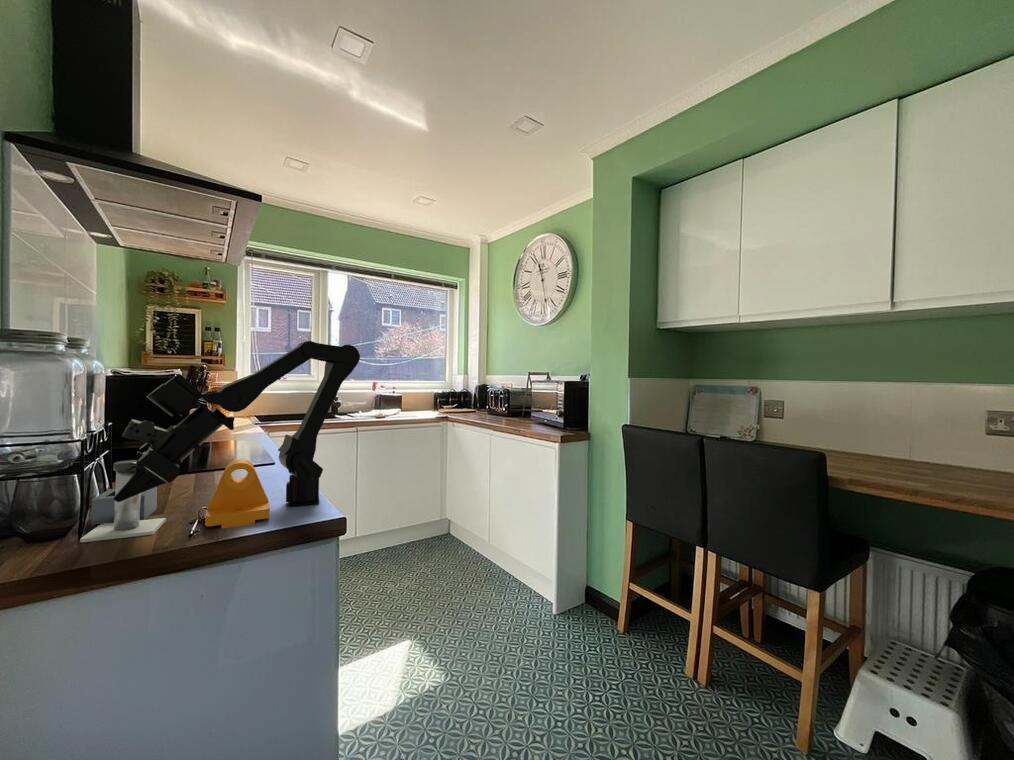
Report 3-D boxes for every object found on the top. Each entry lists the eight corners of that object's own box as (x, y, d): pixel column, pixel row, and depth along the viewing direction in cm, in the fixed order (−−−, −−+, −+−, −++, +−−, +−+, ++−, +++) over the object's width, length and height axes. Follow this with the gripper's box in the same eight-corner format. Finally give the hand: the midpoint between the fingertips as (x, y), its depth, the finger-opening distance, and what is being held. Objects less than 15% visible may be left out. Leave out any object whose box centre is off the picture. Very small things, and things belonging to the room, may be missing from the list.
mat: (165, 520, 85) (166, 517, 85) (153, 534, 77) (153, 531, 77) (100, 527, 80) (100, 524, 80) (80, 542, 73) (80, 539, 73)
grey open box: (156, 508, 92) (157, 485, 92) (144, 520, 85) (144, 495, 85) (108, 513, 88) (109, 489, 88) (91, 525, 81) (91, 499, 81)
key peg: (141, 521, 82) (144, 459, 82) (142, 528, 79) (146, 463, 79) (110, 526, 79) (113, 461, 79) (110, 533, 76) (113, 465, 76)
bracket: (204, 531, 80) (206, 468, 80) (207, 519, 86) (208, 461, 86) (269, 521, 85) (271, 463, 85) (267, 512, 92) (269, 457, 92)
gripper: (155, 401, 88) (79, 460, 81) (156, 407, 74) (65, 479, 67) (200, 436, 93) (133, 494, 86) (210, 448, 79) (130, 518, 72)
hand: (116, 495), depth 78 cm, fingers open, 8 cm apart
